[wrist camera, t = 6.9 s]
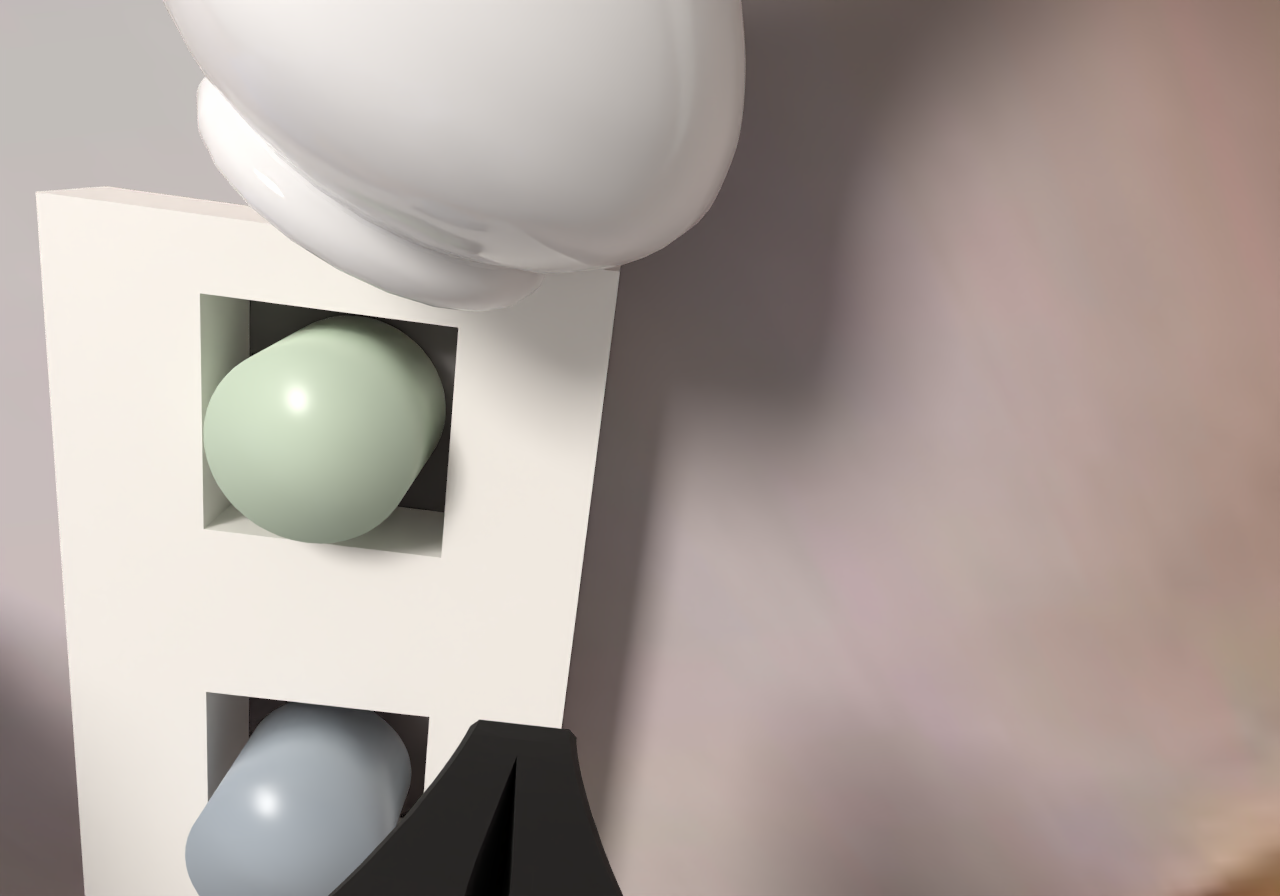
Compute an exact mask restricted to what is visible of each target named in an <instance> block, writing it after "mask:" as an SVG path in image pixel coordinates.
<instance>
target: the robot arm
mask: <svg viewBox="0 0 1280 896" xmlns="http://www.w3.org/2000/svg"><path fill="white" fill-rule="evenodd" d="M328 896H623V895H622V892H621V890H620V888H619V885H618V883H617V881H616V878H615V876H614V874H613V871H612V869H611V867H610V864H609V862H608V859H607V856H606V854H605V851H604V849H603V846H602V843H601V840H600V837H599V834H598V831H597V828H596V825H595V823H594V820H593V817H592V814H591V810H590V807H589V804H588V800H587V797H586V793H585V789H584V785H583V781H582V777H581V772H580V767H579V762H578V755H577V745H576V737H575V736H574V734H573V733H572V732H571V731H570V730H569V729H560V728H551V727H542V726H533V725H524V724H515V723H506V722H498V721H489V720H480V719H479V720H478V721H477V722H475V723H474V724H472V725H471V726H470V727H469V729H468V731H467V733H466V735H465V736H464V738H463V739H462V741H461V743H460V744H459V746H458V747H457V749H456V750H455V752H454V753H453V755H452V756H451V758H450V759H449V760H448V762H447V763H446V765H445V766H444V767H443V769H442V770H441V771H440V773H439V774H438V775H437V777H436V778H435V780H434V781H433V782H432V783H431V785H430V786H429V787H428V788H427V790H426V791H425V792H424V793H423V794H422V796H421V797H420V798H419V799H418V801H417V802H416V803H415V804H414V806H413V807H412V808H411V809H410V810H409V812H408V813H407V814H406V815H405V816H404V818H403V819H402V820H401V821H400V822H399V823H398V825H397V826H396V827H395V828H394V829H393V830H392V831H391V832H390V833H389V834H388V835H387V836H386V838H385V839H384V840H383V841H382V842H381V843H380V844H379V845H378V846H377V847H376V848H375V849H374V850H373V851H372V853H371V854H370V855H369V856H368V857H367V858H366V859H365V860H364V861H363V862H362V863H361V864H360V865H359V866H358V867H357V868H356V869H355V870H354V871H353V872H352V873H351V874H350V875H349V876H348V877H347V878H346V879H345V880H344V881H343V882H342V883H341V884H340V885H339V886H338V887H337V888H336V889H335V890H334V891H332V892H331V893H330V894H329V895H328Z"/></svg>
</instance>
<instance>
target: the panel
mask: <svg viewBox="0 0 1280 896" xmlns="http://www.w3.org/2000/svg"><path fill="white" fill-rule="evenodd" d="M36 204H37V218H38V232H39V247H40V261H41V275H42V290H43V304H44V318H45V333H46V347H47V361H48V376H49V390H50V404H51V418H52V433H53V447H54V461H55V476H56V490H57V504H58V519H59V533H60V547H61V562H62V576H63V590H64V605H65V619H66V633H67V648H68V662H69V676H70V690H71V705H72V719H73V733H74V748H75V762H76V776H77V791H78V805H79V819H80V834H81V848H82V862H83V877H84V891H85V896H199V895H198V893H197V891H196V890H195V888H194V886H193V884H192V882H191V880H190V878H189V875H188V871H187V867H186V860H185V848H186V842H187V838H188V835H189V833H190V830H191V828H192V826H193V825H194V823H195V821H196V820H197V818H198V817H199V815H200V814H201V812H202V811H203V809H204V808H205V806H206V804H207V803H208V801H209V800H210V798H211V797H212V795H213V794H214V792H215V791H216V789H217V788H218V786H219V784H220V783H221V781H222V780H223V778H224V777H225V775H226V774H227V772H228V771H229V769H230V768H231V766H232V764H233V763H234V761H235V760H236V758H237V757H238V755H239V754H240V752H241V751H242V749H243V747H244V746H245V744H246V743H247V741H248V740H249V697H256V698H265V699H274V700H283V701H292V702H301V703H309V704H318V705H327V706H336V707H345V708H354V709H363V710H372V711H381V712H390V713H399V714H407V715H416V716H425V717H429V730H428V743H427V756H426V770H425V783H424V792H425V791H426V790H427V788H428V787H429V786H430V785H431V783H432V782H433V781H434V780H435V778H436V777H437V775H438V774H439V773H440V771H441V770H442V769H443V767H444V766H445V765H446V763H447V762H448V760H449V759H450V758H451V756H452V755H453V753H454V752H455V750H456V749H457V747H458V746H459V744H460V743H461V741H462V739H463V738H464V736H465V735H466V733H467V731H468V729H469V727H470V726H471V725H472V724H474V723H475V722H477V721H478V720H479V719H480V720H489V721H498V722H506V723H515V724H524V725H533V726H542V727H551V728H560V729H561V728H562V720H563V712H564V704H565V697H566V689H567V681H568V673H569V665H570V658H571V650H572V642H573V634H574V626H575V619H576V611H577V603H578V595H579V588H580V580H581V572H582V564H583V556H584V549H585V541H586V533H587V525H588V517H589V510H590V502H591V494H592V486H593V478H594V471H595V463H596V455H597V447H598V440H599V432H600V424H601V416H602V408H603V401H604V393H605V385H606V377H607V369H608V362H609V354H610V346H611V338H612V330H613V323H614V315H615V307H616V299H617V292H618V284H619V276H620V268H621V265H620V266H616V267H612V268H607V269H603V270H595V271H581V272H568V273H549V274H546V276H545V278H544V280H543V282H542V284H541V286H540V287H539V288H538V290H537V291H535V292H534V293H533V294H531V295H530V296H528V297H526V298H524V299H523V300H521V301H519V302H518V303H516V304H514V305H512V306H510V307H509V308H503V309H495V310H487V311H479V312H470V311H462V310H454V309H446V308H438V307H432V306H429V305H426V304H423V303H419V302H416V301H413V300H410V299H406V298H403V297H400V296H397V295H393V294H390V293H387V292H385V291H383V290H381V289H378V288H376V287H374V286H372V285H370V284H368V283H365V282H363V281H361V280H359V279H357V278H355V277H352V276H350V275H348V274H346V273H344V272H342V271H340V270H338V269H336V268H334V267H333V266H331V265H330V264H328V263H326V262H325V261H323V260H322V259H320V258H318V257H317V256H315V255H314V254H312V253H310V252H309V251H307V250H306V249H304V248H302V247H301V246H299V245H298V244H296V243H294V242H293V241H291V240H290V239H289V238H287V237H286V236H285V235H284V234H283V233H281V232H280V231H279V230H278V229H277V228H275V227H274V226H273V225H272V224H270V223H269V222H268V221H267V220H266V219H264V218H263V217H262V216H261V215H260V214H258V213H257V212H256V211H255V210H254V209H252V208H251V207H250V206H246V205H239V204H232V203H224V202H217V201H210V200H203V199H195V198H188V197H181V196H174V195H166V194H159V193H152V192H145V191H137V190H130V189H123V188H116V187H108V186H103V187H90V188H78V189H65V190H52V191H39V192H36ZM250 300H254V301H262V302H269V303H277V304H284V305H292V306H299V307H307V308H314V309H322V310H329V311H337V312H345V313H352V314H360V315H367V316H375V317H382V318H390V319H397V320H405V321H412V322H420V323H427V324H435V325H442V326H450V327H457V328H458V340H457V353H456V367H455V380H454V394H453V407H452V421H451V434H450V447H449V461H448V474H447V488H446V501H445V512H437V511H429V510H421V509H413V508H405V507H396V509H395V510H394V511H393V512H392V513H391V514H390V515H389V517H387V518H386V519H385V520H384V521H383V522H382V523H381V524H379V525H378V526H376V527H375V528H373V529H372V530H370V531H369V532H367V533H364V534H362V535H360V536H358V537H355V538H352V539H349V540H346V541H340V542H335V543H322V544H318V543H305V542H299V541H294V540H290V539H287V538H284V537H280V536H278V535H276V534H273V533H271V532H269V531H267V530H265V529H263V528H261V527H260V526H258V525H256V524H255V523H253V522H252V521H251V520H249V519H248V518H247V517H245V516H244V515H243V514H242V513H241V512H240V511H239V510H237V509H236V508H235V507H234V506H233V504H232V503H231V502H230V501H229V500H228V499H227V498H226V496H225V495H224V493H223V492H222V490H221V489H220V487H219V486H218V484H217V482H216V480H215V478H214V476H213V475H212V472H211V470H210V467H209V464H208V461H207V457H206V453H205V448H204V436H203V433H204V420H205V416H206V411H207V407H208V405H209V402H210V399H211V397H212V395H213V393H214V391H215V390H216V388H217V386H218V385H219V384H220V382H221V381H222V380H223V378H224V377H225V376H226V375H227V374H228V373H229V372H230V371H231V370H232V369H233V368H234V367H236V366H237V365H238V364H240V363H241V362H243V361H244V360H246V359H248V358H249V345H250ZM402 819H403V818H400V817H399V819H398V822H397V825H398V823H399V822H400V821H401V820H402ZM397 825H396V826H397Z"/></svg>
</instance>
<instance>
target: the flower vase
mask: <svg viewBox="0 0 1280 896" xmlns="http://www.w3.org/2000/svg"><path fill="white" fill-rule="evenodd" d="M163 3H164V5H165V7H166V9H167V11H168V13H169V15H170V17H171V18H172V20H173V22H174V24H175V26H176V28H177V29H178V31H179V33H180V35H181V37H182V39H183V40H184V42H185V44H186V46H187V48H188V50H189V51H190V53H191V55H192V56H193V58H194V59H195V61H196V63H197V64H198V66H199V67H200V69H201V71H202V72H203V74H204V75H205V77H204V79H203V80H202V82H201V83H200V85H199V86H198V89H197V94H196V104H197V119H198V130H199V135H200V137H201V138H202V140H203V142H204V144H205V146H206V148H207V150H208V152H209V154H210V156H211V158H212V160H213V162H214V164H215V166H216V167H217V169H218V170H219V172H220V173H221V174H222V175H223V176H224V177H225V179H226V180H227V181H228V182H229V183H230V184H231V186H232V187H233V188H234V189H235V190H236V191H237V192H238V194H239V195H240V196H241V197H242V198H243V199H244V200H245V202H246V203H247V204H248V205H249V206H250V207H251V208H252V209H254V210H255V211H256V212H257V213H258V214H260V215H261V216H262V217H263V218H264V219H266V220H267V221H268V222H269V223H270V224H272V225H273V226H274V227H275V228H277V229H278V230H279V231H280V232H281V233H283V234H284V235H285V236H286V237H287V238H289V239H290V240H291V241H293V242H294V243H296V244H298V245H299V246H301V247H302V248H304V249H306V250H307V251H309V252H310V253H312V254H314V255H315V256H317V257H318V258H320V259H322V260H323V261H325V262H326V263H328V264H330V265H331V266H333V267H334V268H336V269H338V270H340V271H342V272H344V273H346V274H348V275H350V276H352V277H355V278H357V279H359V280H361V281H363V282H365V283H368V284H370V285H372V286H374V287H376V288H378V289H381V290H383V291H385V292H387V293H390V294H393V295H397V296H400V297H403V298H406V299H410V300H413V301H416V302H419V303H423V304H426V305H429V306H432V307H438V308H446V309H454V310H462V311H470V312H479V311H487V310H495V309H503V308H509V307H510V306H512V305H514V304H516V303H518V302H519V301H521V300H523V299H524V298H526V297H528V296H530V295H531V294H533V293H534V292H535V291H537V290H538V288H539V287H540V286H541V284H542V282H543V280H544V278H545V276H546V274H549V273H568V272H581V271H595V270H603V269H607V268H612V267H616V266H620V265H624V264H627V263H630V262H633V261H636V260H639V259H642V258H644V257H646V256H648V255H651V254H653V253H655V252H657V251H659V250H661V249H663V248H664V247H666V246H667V245H669V244H670V243H671V242H673V241H674V240H676V239H677V238H679V237H680V236H682V235H683V234H685V233H686V232H687V231H688V230H690V229H691V228H692V227H694V226H695V225H696V224H698V222H699V221H700V220H701V219H702V218H703V217H704V215H705V214H706V213H707V212H708V211H709V209H710V207H711V206H712V204H713V202H714V200H715V199H716V197H717V195H718V193H719V191H720V188H721V186H722V184H723V182H724V180H725V177H726V175H727V172H728V170H729V167H730V165H731V162H732V159H733V156H734V153H735V151H736V148H737V144H738V139H739V135H740V131H741V123H742V116H743V107H744V95H745V67H746V53H745V36H744V22H743V12H742V2H741V0H163Z"/></svg>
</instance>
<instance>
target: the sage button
mask: <svg viewBox="0 0 1280 896" xmlns="http://www.w3.org/2000/svg"><path fill="white" fill-rule="evenodd" d="M445 416H446V402H445V395H444V390H443V386H442V383H441V380H440V377H439V375H438V373H437V370H436V369H435V367H434V365H433V363H432V362H431V360H430V359H429V357H428V356H427V355H426V353H425V352H424V351H423V350H422V349H421V348H420V347H419V345H418V344H417V343H416V342H415V341H413V340H412V339H411V338H410V337H408V336H407V335H406V334H404V333H403V332H401V331H400V330H398V329H397V328H395V327H393V326H391V325H388V324H386V323H384V322H381V321H378V320H375V319H372V318H367V317H362V316H350V315H346V316H335V317H329V318H325V319H322V320H319V321H316V322H313V323H311V324H309V325H308V326H306V327H304V328H302V329H300V330H298V331H296V332H295V333H293V334H291V335H289V336H287V337H286V338H284V339H282V340H280V341H278V342H276V343H275V344H273V345H271V346H269V347H267V348H266V349H264V350H262V351H260V352H258V353H257V354H255V355H253V356H251V357H249V358H248V359H246V360H244V361H243V362H241V363H240V364H238V365H237V366H236V367H234V368H233V369H232V370H231V371H230V372H229V373H228V374H227V375H226V376H225V377H224V378H223V380H222V381H221V382H220V384H219V385H218V386H217V388H216V390H215V391H214V393H213V395H212V397H211V399H210V402H209V405H208V407H207V411H206V416H205V420H204V433H203V436H204V448H205V453H206V457H207V461H208V464H209V467H210V470H211V472H212V475H213V476H214V478H215V480H216V482H217V484H218V486H219V487H220V489H221V490H222V492H223V493H224V495H225V496H226V498H227V499H228V500H229V501H230V502H231V503H232V504H233V506H234V507H235V508H236V509H237V510H239V511H240V512H241V513H242V514H243V515H244V516H245V517H247V518H248V519H249V520H251V521H252V522H253V523H255V524H256V525H258V526H260V527H261V528H263V529H265V530H267V531H269V532H271V533H273V534H276V535H278V536H280V537H284V538H287V539H290V540H294V541H299V542H305V543H318V544H322V543H335V542H340V541H346V540H349V539H352V538H355V537H358V536H360V535H362V534H364V533H367V532H369V531H370V530H372V529H373V528H375V527H376V526H378V525H379V524H381V523H382V522H383V521H384V520H385V519H386V518H387V517H389V515H390V514H391V513H392V512H393V511H394V510H395V509H396V507H397V506H398V504H399V503H400V501H401V500H402V498H403V497H404V495H405V494H406V492H407V491H408V489H409V488H410V486H411V485H412V483H413V481H414V480H415V478H416V477H417V475H418V474H419V472H420V471H421V469H422V468H423V466H424V465H425V463H426V462H427V460H428V459H429V457H430V456H431V454H432V452H433V451H434V449H435V448H436V446H437V444H438V442H439V440H440V438H441V435H442V431H443V428H444V423H445Z"/></svg>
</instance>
